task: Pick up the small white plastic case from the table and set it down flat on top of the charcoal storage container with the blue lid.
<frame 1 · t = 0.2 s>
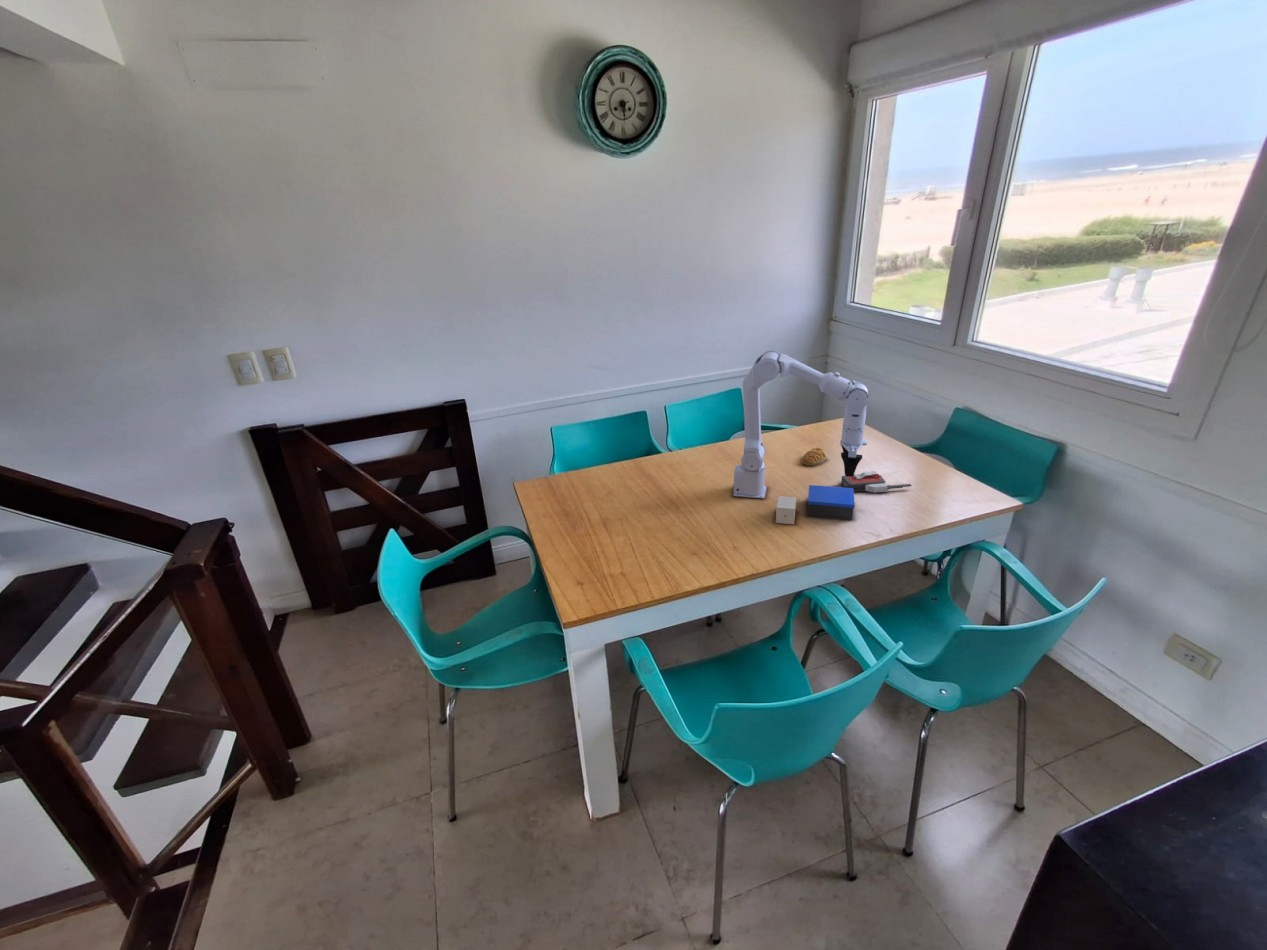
hand: (848, 470, 162), 10 cm above the table, tool pointing down, fingers open, 7 cm apart
pastry: (814, 461, 193), on the table
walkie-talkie: (873, 487, 173), on the table
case: (785, 517, 160), on the table
container: (829, 509, 162), on the table
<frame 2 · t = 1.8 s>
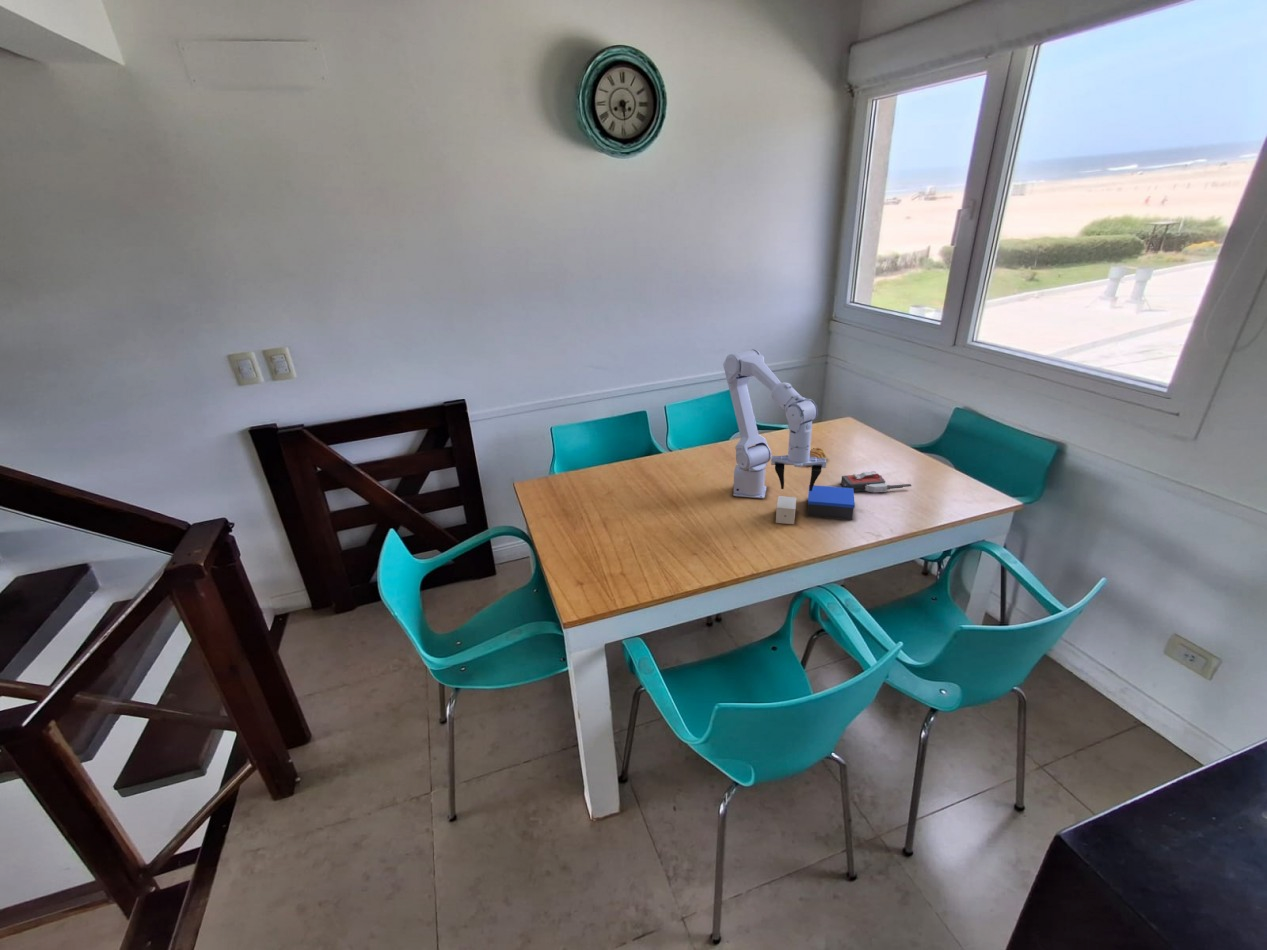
hand: (796, 488, 157), 9 cm above the table, tool pointing down, fingers open, 7 cm apart
nothing on the table moved.
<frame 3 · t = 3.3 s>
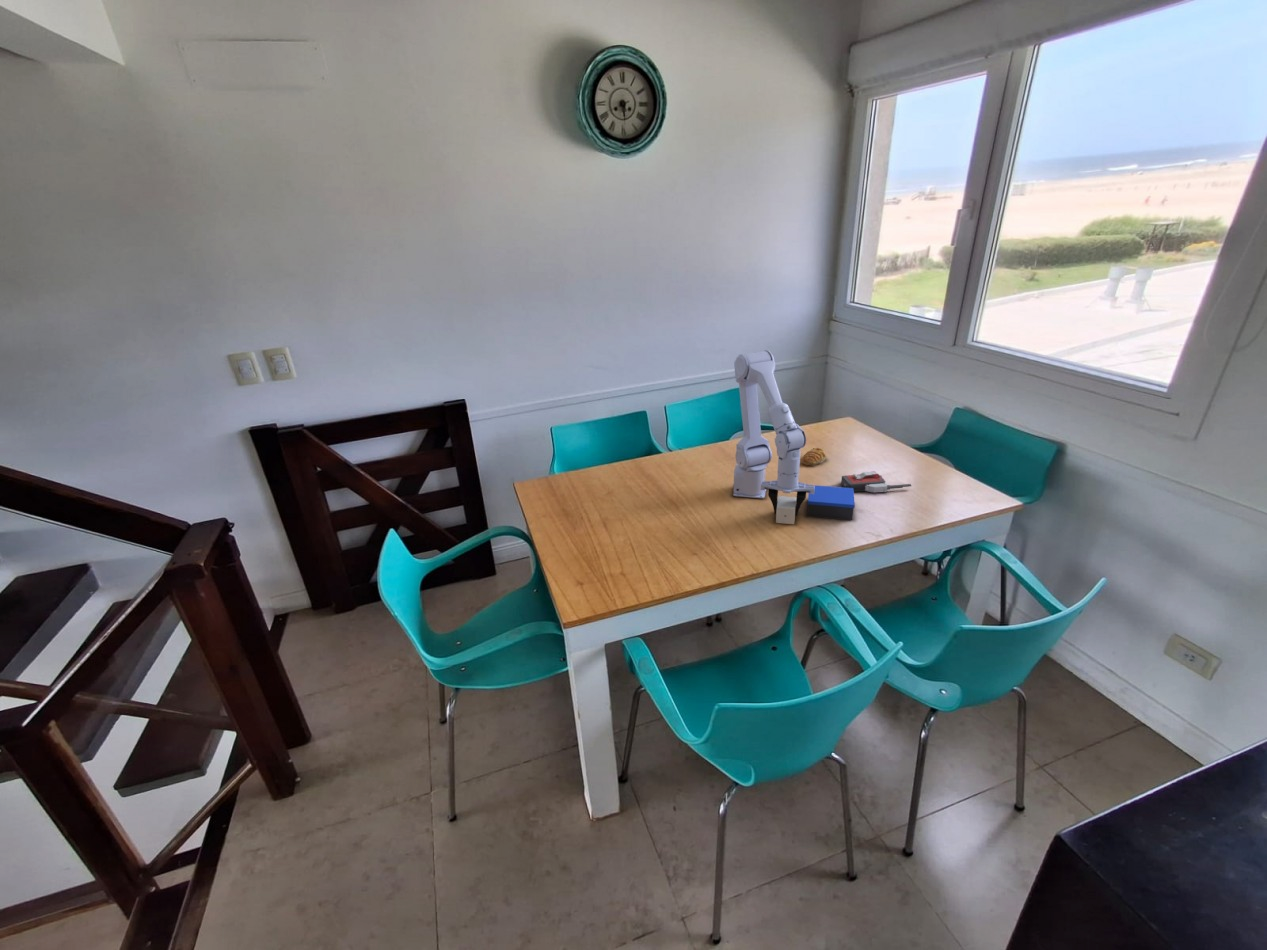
hand: (785, 513, 159), 1 cm above the table, tool pointing down, fingers closed on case, 5 cm apart
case: (785, 517, 160), on the table, touching gripper
everything else where it was.
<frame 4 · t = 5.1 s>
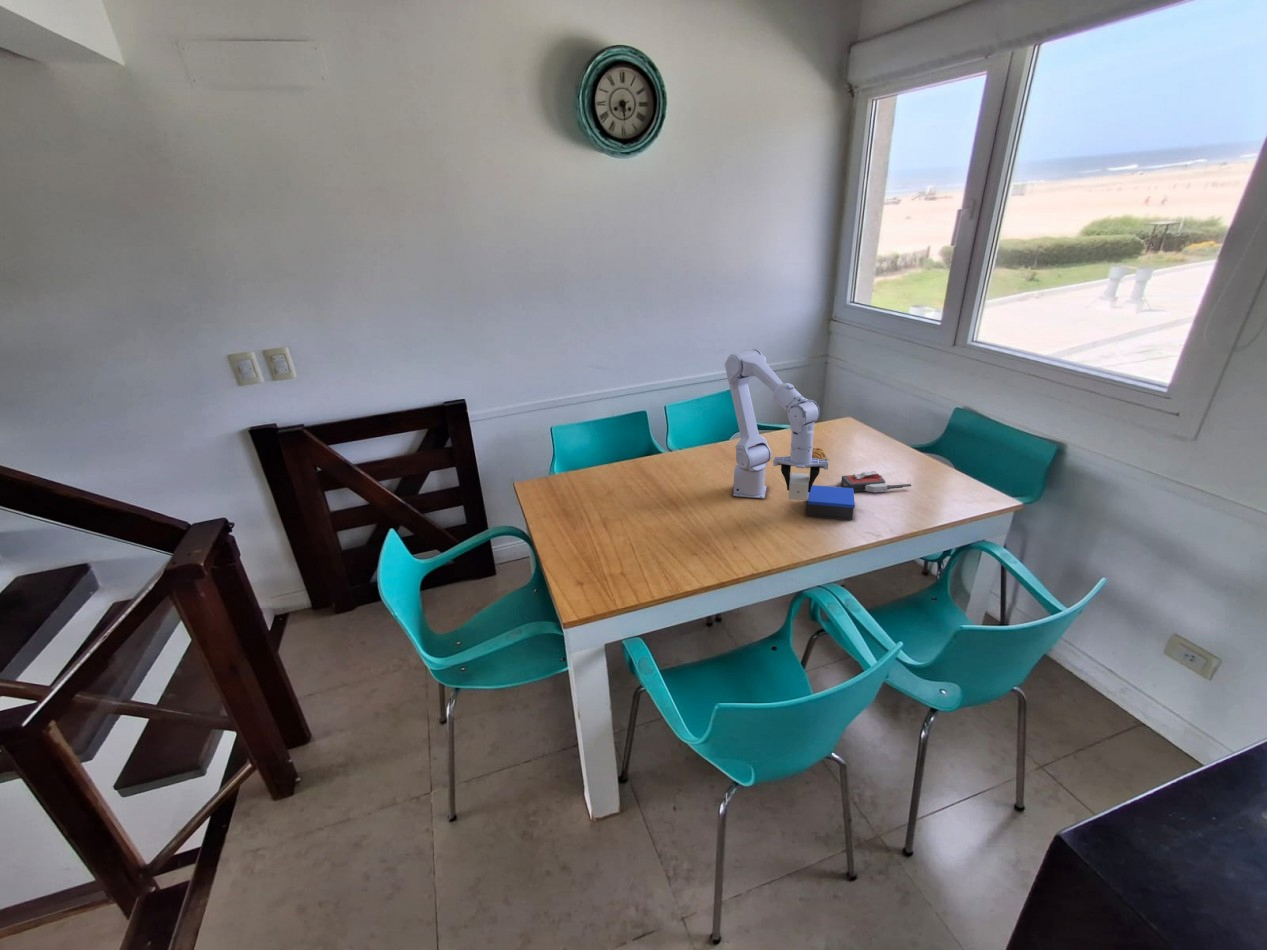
hand: (798, 489, 157), 8 cm above the table, tool pointing down, fingers closed on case, 5 cm apart
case: (798, 494, 158), point 7 cm above the table, touching gripper
everything else where it was.
when the fingers open (6 cm above the table, at t = 7.1 s): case stays where it is, resting on container.
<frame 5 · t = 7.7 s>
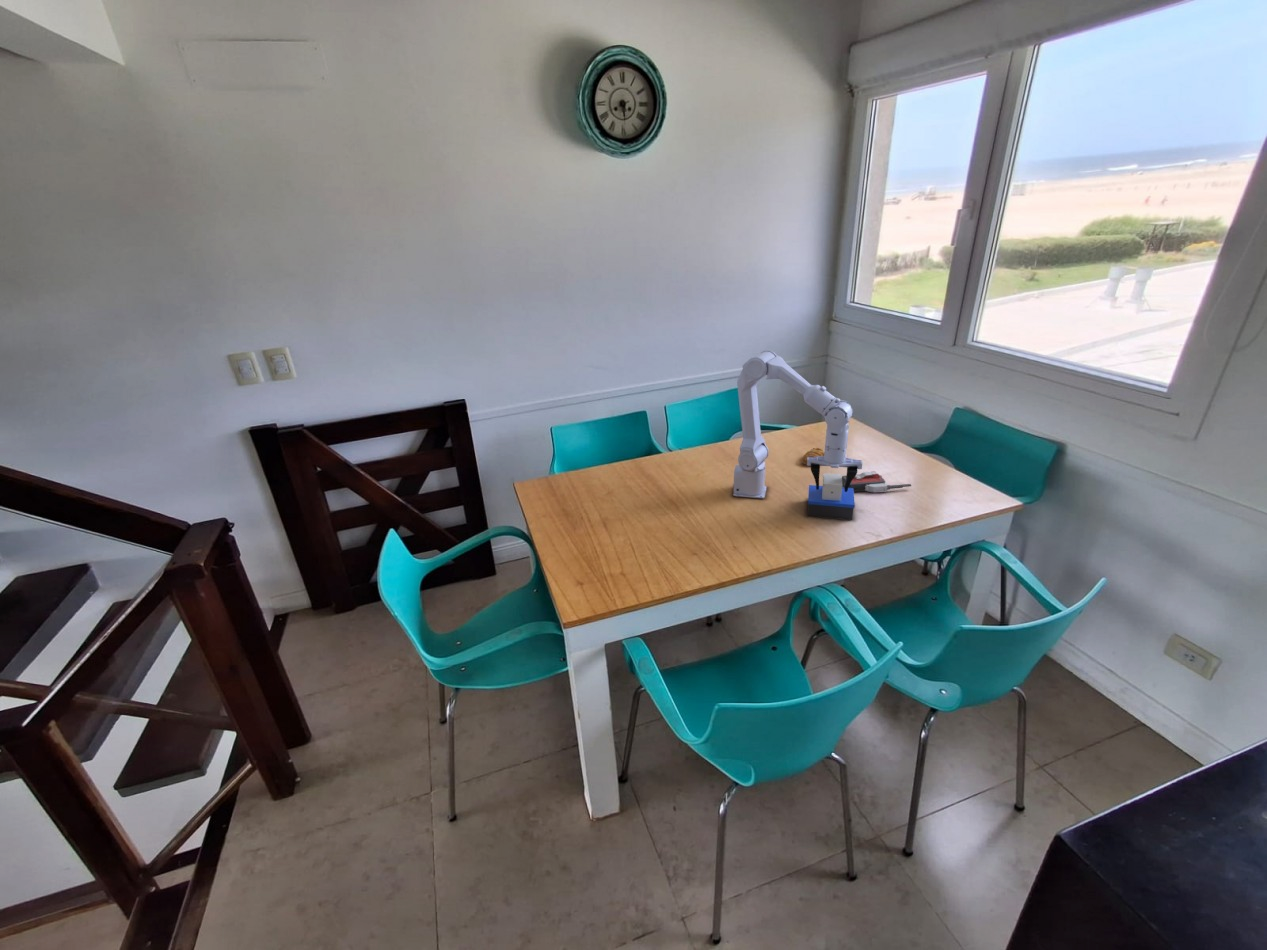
hand: (831, 489, 160), 7 cm above the table, tool pointing down, fingers open, 7 cm apart
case: (831, 494, 160), point 5 cm above the table, touching container
everything else where it was.
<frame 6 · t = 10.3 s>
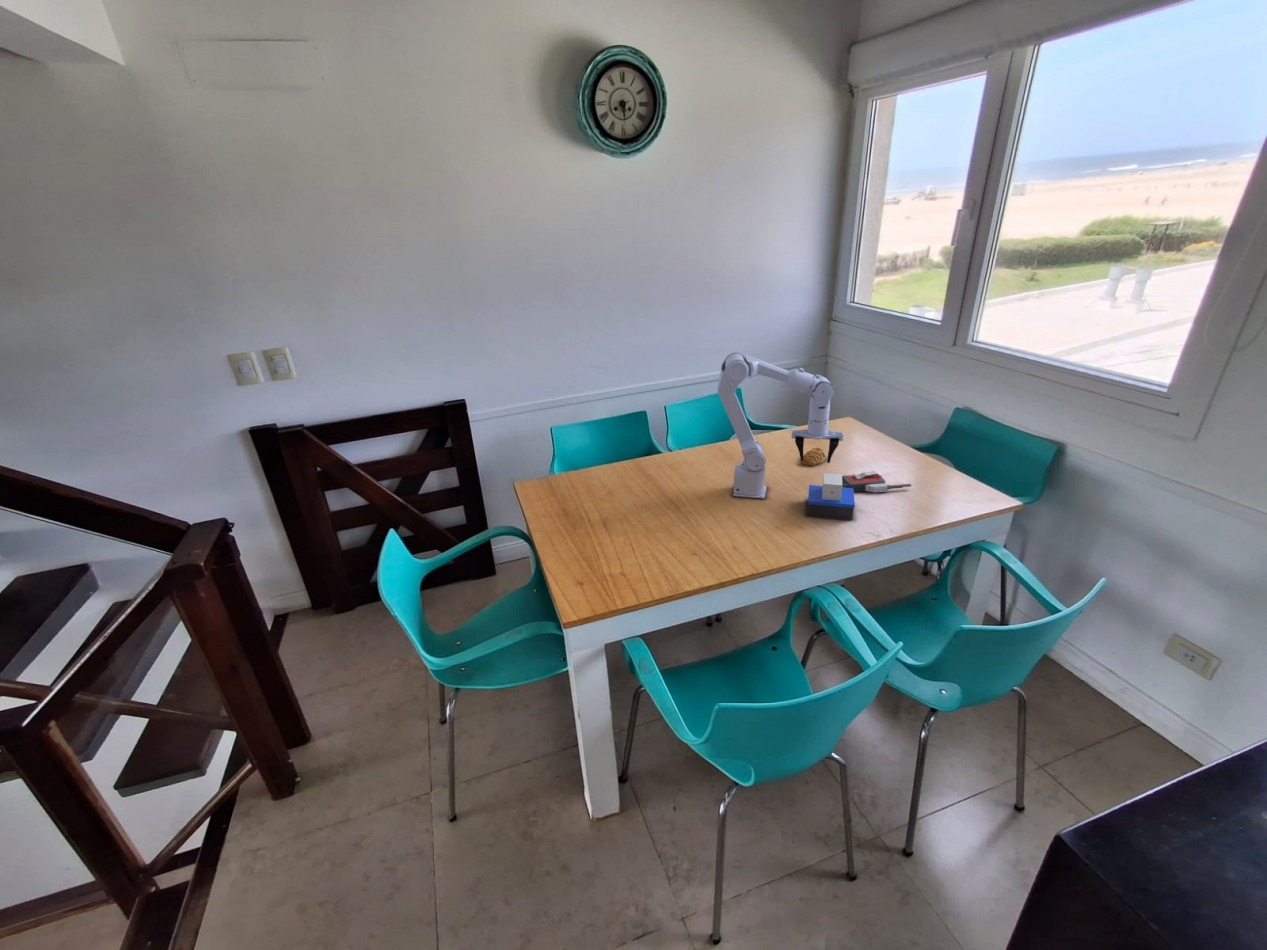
hand: (815, 460, 169), 10 cm above the table, tool pointing down, fingers open, 7 cm apart
nothing on the table moved.
at the end: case 0.1 cm off-centre on the container, point 5.0 cm above the container's base; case tilted 0°; the gripper is holding nothing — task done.
